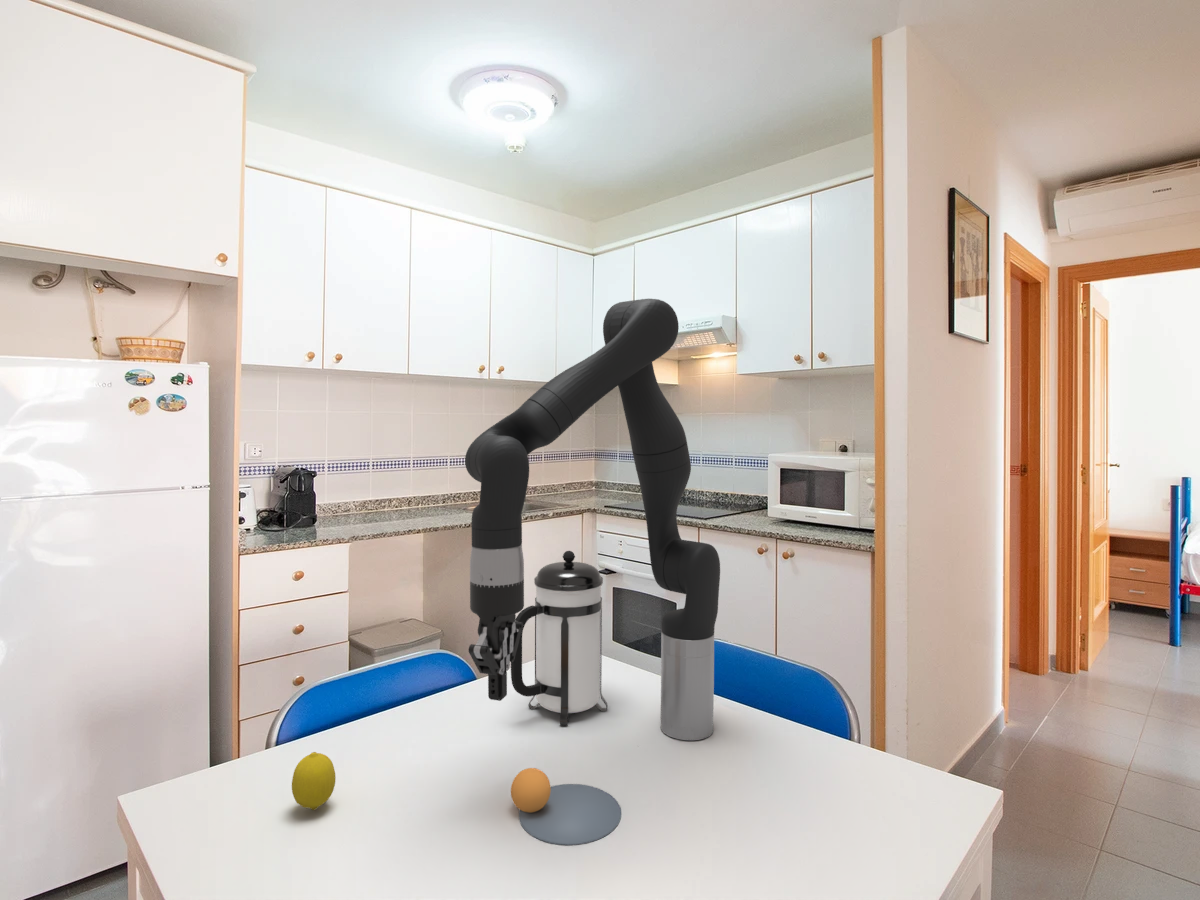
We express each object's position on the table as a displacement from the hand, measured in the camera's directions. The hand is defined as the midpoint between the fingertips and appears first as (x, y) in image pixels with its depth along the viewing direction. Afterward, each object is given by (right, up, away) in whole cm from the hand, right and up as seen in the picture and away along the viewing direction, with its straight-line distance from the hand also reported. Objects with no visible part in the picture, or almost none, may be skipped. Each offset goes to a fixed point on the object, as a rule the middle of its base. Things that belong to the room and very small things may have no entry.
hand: (497, 697), depth 93 cm
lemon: (-25, -15, -2) cm, 29 cm away
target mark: (+10, -15, -3) cm, 18 cm away
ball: (+5, -12, -2) cm, 13 cm away
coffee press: (+8, -14, +29) cm, 33 cm away
